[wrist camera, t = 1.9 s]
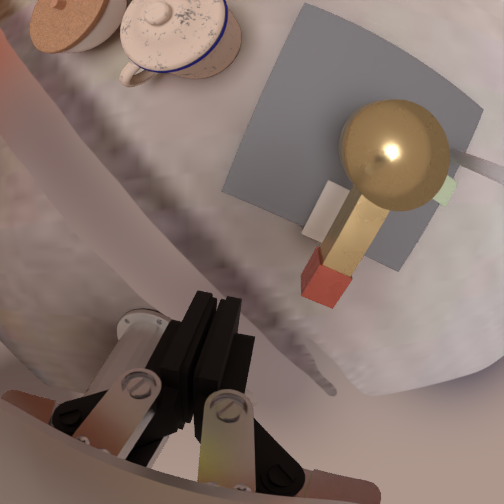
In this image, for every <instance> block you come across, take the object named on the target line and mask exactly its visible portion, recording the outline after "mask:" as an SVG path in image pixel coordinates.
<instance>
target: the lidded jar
mask: <svg viewBox="0 0 504 504" xmlns="http://www.w3.org/2000/svg"><path fill="white" fill-rule="evenodd" d="M126 6H127V0H38V1H37V3H36V5H35V8H34V10H33V13H32V17H31V22H30V35H31V39H32V42H33V44H34V45H35V47H36V48H37V49H38V50H40V51H42V52H45V53H77V52H82V51H86V50H89V49H92V48H94V47H96V46H98V45H100V44H101V43H103V42H104V41H106V40H107V39H108V38H109V37H110V36H111V35H112V34H113V33H114V32H115V31H116V30H117V28H118V27H119V25H120V24H121V22H122V19H123V16H124V13H125V11H126Z"/></svg>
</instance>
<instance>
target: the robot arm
mask: <svg viewBox="0 0 504 504" xmlns="http://www.w3.org/2000/svg"><path fill="white" fill-rule="evenodd" d="M212 296H213V295H212V293H208V292H203V291H197V293H196V295H195V297H194V298H193V301H192V303H191V305H190V306H189V309H188V310H187V312H186V314H185V316H184V319H183V320H182V322H180V321H176V320H172V319H170V318H169V317H167V316H165V315H163V314H161V313H158V312H155V311H151V310H146V309H138V310H132V311H130V312H128V313H126V314H125V315H124V316H123V317H122V318H121V320H120V321H119V323H118V325H117V337H118V343H117V344H116V346H115V347H114V349H113V350H112V352H111V353H110V355H109V356H108V358H107V359H106V361H105V362H104V364H103V366H102V367H101V369H100V370H99V372H98V373H97V375H96V376H95V378H94V380H93V381H92V383H91V384H90V386H89V388H88V389H87V391H86V392H85V394H84V396H83V397H81V398H78V399H74V400H71V401H67V402H64V403H62V404H58V403H57V402H56V400H51V399H48V398H44V397H39V396H36V395H32V394H29V393H25V392H22V391H19V390H9V391H6V392H5V393H4V394H3V395H2V396H1V398H0V504H380V501H381V492H380V490H379V488H378V487H377V486H376V485H375V484H374V483H372V482H369V481H366V480H361V479H355V478H350V477H346V476H341V475H336V474H332V473H328V472H324V471H320V470H316V469H314V470H313V471H311V470H307V469H304V468H302V467H301V466H300V465H299V464H298V463H297V462H296V461H295V460H294V459H293V458H292V457H291V456H290V455H289V454H288V453H287V452H286V451H285V450H284V449H283V448H282V447H281V446H280V445H279V444H278V443H277V442H276V441H275V440H274V439H273V438H272V436H271V435H270V434H269V433H268V432H267V431H266V430H265V429H264V428H263V427H262V426H261V425H260V424H259V423H258V422H257V421H256V420H255V418H254V412H253V405H252V402H251V401H250V399H249V398H248V397H247V396H246V395H244V393H245V388H246V383H247V377H248V372H249V366H250V362H251V356H252V350H253V345H254V340H255V337H254V336H249V335H243V334H238V333H237V332H238V325H239V316H240V310H241V302H242V299H239V298H234V297H229V296H227V298H226V300H224V299H221V300H220V303H219V305H218V308H217V311H216V307H217V298H214V297H212ZM193 414H194V425H195V437H196V438H197V440H198V441H199V443H200V444H201V446H200V457H199V469H198V482H196V481H191V480H187V479H184V478H180V477H176V476H173V475H169V474H165V473H162V472H159V471H156V470H153V469H151V468H152V466H153V464H154V462H155V461H156V459H157V458H158V455H159V454H160V452H161V451H162V449H163V447H164V445H165V443H166V442H167V440H168V437H169V435H170V434H172V433H175V432H177V430H178V428H179V429H183V427H184V424H185V422H186V423H190V422H191V420H192V417H193Z"/></svg>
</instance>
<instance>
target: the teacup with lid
mask: <svg viewBox="0 0 504 504" xmlns="http://www.w3.org/2000/svg"><path fill="white" fill-rule="evenodd" d="M120 39H121V44H122V47H123V49H124V51H125V53H126V55H127V56H128V57H129V59H130V60H131V61H130V62H129V63H128V64H127V65H126V66H125V67H124V68H123V70H122V72H121V74H120V81H121V83H122V84H123V85H124V86H126V87H134V86H138V85H140V84H143V83H145V82H147V81H148V80H150V79H151V78H153V77H154V76H155V75H157V74H158V73H171V74H174V75H178V76H182V77H185V78H191V79H200V78H206V77H210V76H213V75H215V74H217V73H219V72H221V71H222V70H224V69H225V68H226V67H228V66H229V65H230V64H231V62H232V61H233V60H234V59H235V57H236V55H237V54H238V51H239V49H240V45H241V30H240V27H239V25H238V23H237V21H236V19H235V18H234V16H233V15H232V13H231V12H230V10H229V9H228V7H227V4H226V1H225V0H133V1H132V2H131V3H130V5H129V6H128V8H127V9H126V11H125V13H124V16H123V19H122V22H121V28H120ZM140 68H142V69H144V71H142V72H140V73H138V74H136V75H134V74H135V73H136V72H137V71H138V70H139V69H140Z"/></svg>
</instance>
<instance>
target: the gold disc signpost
mask: <svg viewBox="0 0 504 504" xmlns="http://www.w3.org/2000/svg"><path fill="white" fill-rule="evenodd" d="M339 157H340V161H341V164H342V167H343V169H344V171H345V173H346V175H347V176H348V177H349V179H350V180H351V181H352V183H353V186H352V188H351V190H350V192H349V194H348V196H347V197H346V199H345V201H344V203H343V205H342V207H341V209H340V211H339V213H338V214H337V216H336V218H335V220H334V222H333V224H332V226H331V227H330V229H329V231H328V233H327V235H326V236H325V238H324V240H323V242H322V244H321V246H320V247H318V246H317V247H316V249H315V251H314V253H313V254H312V256H311V258H310V260H309V261H308V263H307V265H306V267H305V269H304V270H303V272H302V274H301V296H303V297H305V298H308V299H310V300H312V301H315V302H317V303H320V304H322V305H325V306H327V307H330V308H332V309H333V308H334V306H335V305H336V303H337V302H338V300H339V299H340V297H341V296H342V294H343V293H344V291H345V290H346V288H347V287H348V285H349V284H350V282H351V280H352V276H351V275H352V273H353V272H354V270H355V269H356V267H357V265H358V264H359V262H360V261H361V259H362V257H363V256H364V254H365V253H366V251H367V249H368V248H369V246H370V244H371V243H372V241H373V239H374V238H375V236H376V234H377V232H378V231H379V229H380V227H381V226H382V224H383V222H384V220H385V219H386V217H387V215H388V213H389V211H390V210H391V211H409V210H413V209H416V208H418V207H421V206H423V205H424V204H426V203H427V202H429V201H430V200H431V199H432V198H433V197H434V196H435V195H436V194H437V193H438V192H439V190H440V189H441V187H442V186H443V184H444V182H445V180H446V177H447V174H448V170H449V165H450V149H449V144H448V140H447V137H446V134H445V132H444V130H443V128H442V126H441V125H440V123H439V122H438V120H437V119H436V118H435V117H434V116H433V115H432V114H431V113H430V112H429V111H428V110H426V109H425V108H424V107H422V106H420V105H418V104H416V103H414V102H411V101H407V100H400V99H394V100H383V101H375V102H370V103H368V104H365V105H363V106H361V107H359V108H358V109H357V110H355V111H354V112H353V113H352V114H351V115H350V116H349V117H348V119H347V120H346V122H345V123H344V125H343V128H342V130H341V133H340V137H339Z"/></svg>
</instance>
